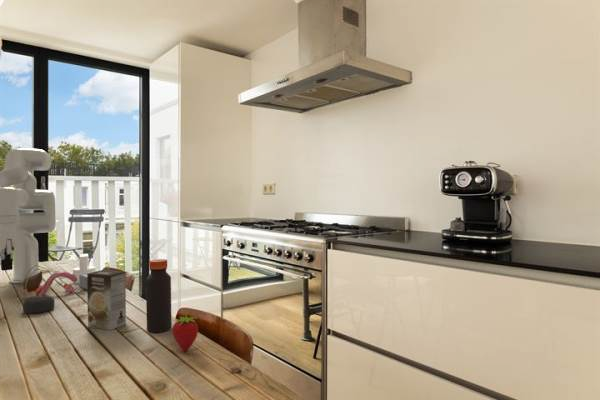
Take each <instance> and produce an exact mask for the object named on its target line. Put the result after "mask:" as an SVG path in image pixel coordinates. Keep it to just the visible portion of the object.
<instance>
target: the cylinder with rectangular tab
mask: <svg viewBox="0 0 600 400" xmlns="http://www.w3.org/2000/svg"><path fill="white" fill-rule="evenodd" d="M89 256H90V255H89V253H82V254H80V255H79V258H78V259H79V264H78V265H79V266H77V267H74V268H72V274H73V273H74V274H75V276H76V277H77V281H76V282H73V281H72V283H73V284H79V275H81V274H85V275H87V274H88V273H92V272H96V266H91V265H90V263H89V262H90V261H89Z"/></svg>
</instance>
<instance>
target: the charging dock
mask: <svg viewBox="0 0 600 400" xmlns="http://www.w3.org/2000/svg"><path fill="white" fill-rule="evenodd" d="M78 285H79V287H80V288H83V289H84V290H86V291H87V275H85V274H81V275H79V283H78Z"/></svg>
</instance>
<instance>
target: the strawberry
mask: <svg viewBox="0 0 600 400" xmlns="http://www.w3.org/2000/svg"><path fill="white" fill-rule="evenodd" d="M188 313H189V311H187V312H186V314H185V316H179V319H175V320H174V321H175V322H174V324H173V325H172V334H173V339H174V340H175V342H176V343H177V345H178V346H179V348H180V349H181V350H182V351H183V352H188V351H189V349H190V348H191V346H192V345H193V344H194V342H195V341H196V339H197V336H198V332H199V325H198V324H197V321H196V320H194V319H198V317H197V316H196V317H195V316H194V317H191V316H190V317H188V316H187V315H188Z"/></svg>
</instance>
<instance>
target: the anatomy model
mask: <svg viewBox="0 0 600 400" xmlns="http://www.w3.org/2000/svg"><path fill="white" fill-rule="evenodd" d="M35 266H38V265H35ZM35 266H34V267H35ZM34 267H32V268H31V269H30V270H29V272H30V271H31V270H32V269H33V268H34ZM38 267H39V268H40V269H38V268H36V269H38V270H39V271H40V272H39V273H38V274H36V275H33V276H31V275H32V273H33V272H34V271H35V270H36V269H35V270H34V271H33V272H32V273H31V274H30V276H31V277H30V276H29V277H28V278H27V279H26V276H27V274H28V273H29V272H28V273H27V274H26V276H25V279H24V281H23V282H22V283H21V286H20V287H21V288H22V289H23V290H24V293H32V292H33V293H34V294H35V295H37V297H43V295H46V294H47V293H48V292H49V291H50V289H51V286H52V285H53V283H54V281H55V282H56V283H55V286H61V287H62V288H63V289H65V291H67V292H69V293H74V292H75V288H74V286H73V285H72V284H71V283H67V282H66V283H65V282H64V281H58V280H57V279H58V278H60V277H61V278H65V279H68V280H70V281H71V282H72V283H73V282H76V281H77V277H76V276H75V274H74V273H73V272H72V273H70V272H67V271H57V272H54V273H51V271H50V270H49V269H47V268H45V267H44V266H40V265H39V266H38ZM43 272H46V273H49V275H50V276H49V277H48V278H47V279H46V281H45V283H44V284H43V285H41V283H42V280H43V279H42V276H43Z"/></svg>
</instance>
